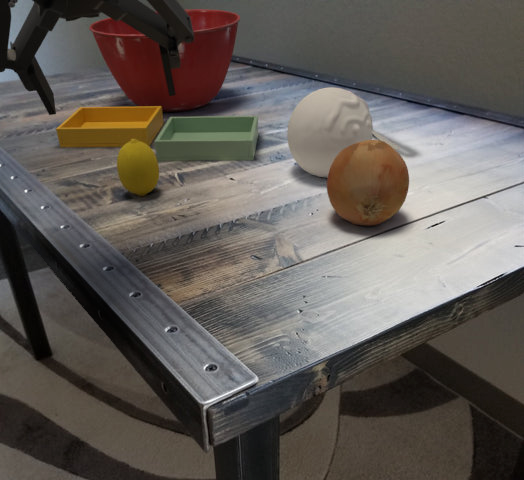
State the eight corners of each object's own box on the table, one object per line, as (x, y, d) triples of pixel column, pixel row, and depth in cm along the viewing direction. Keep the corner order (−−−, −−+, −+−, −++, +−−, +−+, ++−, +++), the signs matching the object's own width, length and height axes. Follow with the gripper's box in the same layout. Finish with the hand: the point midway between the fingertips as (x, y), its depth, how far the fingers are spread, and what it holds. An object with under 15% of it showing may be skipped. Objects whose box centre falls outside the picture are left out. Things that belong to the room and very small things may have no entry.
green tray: (157, 163, 92) (154, 141, 89) (172, 137, 102) (169, 116, 100) (253, 162, 91) (252, 140, 89) (258, 136, 101) (257, 115, 99)
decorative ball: (335, 197, 79) (340, 105, 72) (270, 177, 86) (269, 90, 78) (385, 172, 86) (393, 86, 79) (321, 155, 92) (324, 74, 85)
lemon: (170, 197, 81) (162, 138, 76) (136, 208, 78) (126, 148, 73) (148, 186, 84) (140, 129, 79) (115, 197, 81) (104, 139, 76)
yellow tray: (60, 150, 98) (55, 128, 96) (84, 126, 109) (80, 107, 107) (149, 149, 97) (146, 127, 95) (164, 125, 108) (161, 106, 106)
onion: (390, 203, 77) (399, 125, 71) (415, 236, 69) (427, 152, 63) (318, 208, 76) (321, 130, 70) (335, 242, 68) (339, 157, 62)
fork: (401, 159, 90) (402, 148, 89) (330, 119, 108) (331, 109, 107) (419, 156, 91) (420, 145, 90) (345, 117, 109) (346, 107, 108)
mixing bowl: (122, 134, 104) (106, 37, 95) (92, 98, 125) (76, 16, 116) (265, 112, 113) (263, 22, 104) (214, 82, 134) (209, 4, 125)
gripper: (-113, -24, 44) (3, 141, 64) (213, -70, 45) (225, 105, 66) (-118, -101, 45) (-3, 84, 66) (197, -143, 47) (213, 50, 68)
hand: (111, 95), depth 66 cm, fingers open, 13 cm apart
